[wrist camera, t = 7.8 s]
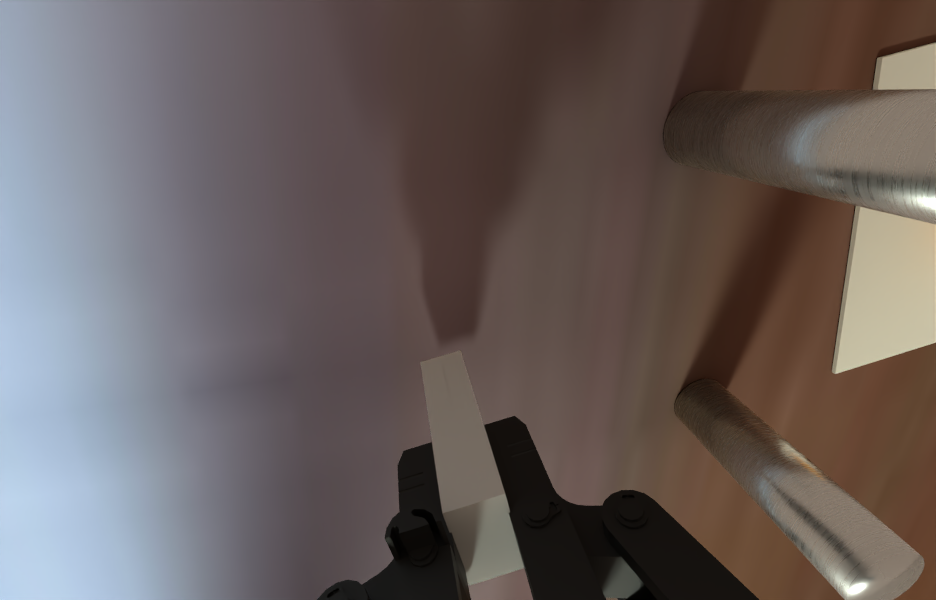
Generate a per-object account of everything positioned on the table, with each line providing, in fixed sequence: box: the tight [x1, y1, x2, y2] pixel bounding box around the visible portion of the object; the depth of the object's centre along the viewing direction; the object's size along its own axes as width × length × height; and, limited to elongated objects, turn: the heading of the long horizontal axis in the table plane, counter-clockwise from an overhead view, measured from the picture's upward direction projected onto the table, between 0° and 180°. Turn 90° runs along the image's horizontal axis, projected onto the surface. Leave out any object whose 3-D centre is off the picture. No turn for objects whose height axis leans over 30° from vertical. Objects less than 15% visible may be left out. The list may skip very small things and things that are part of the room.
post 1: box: [663, 89, 936, 224], centre depth 12 cm, size 2×2×9 cm
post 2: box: [674, 379, 924, 600], centre depth 18 cm, size 2×2×9 cm
